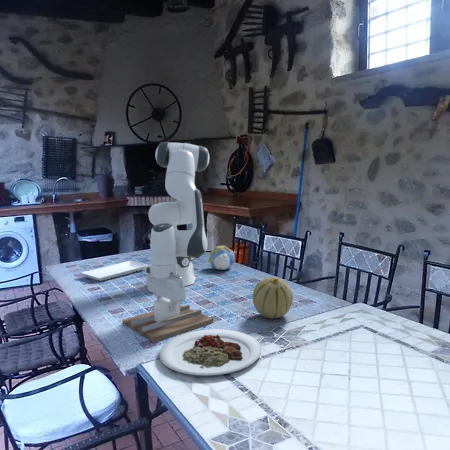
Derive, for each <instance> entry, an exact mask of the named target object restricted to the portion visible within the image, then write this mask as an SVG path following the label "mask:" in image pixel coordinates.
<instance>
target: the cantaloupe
mask: <svg viewBox="0 0 450 450" xmlns="http://www.w3.org/2000/svg"><path fill="white" fill-rule="evenodd" d="M293 297H294V296H293V292H292V289H291V287H290V286H289V284H288V283H287V282H286V281H285V280H284V279H282V278H280V277H278V276H277V277H276V276H271V277H265V278H263V279H262V280H260V281H259V282H257V284H256V285H255V287H254V289H253V292H252V303H253V307H254V308H255V310H256V312H257V313H258V314H260V315H261V316H262V317H265V318H268V319H279V318H281V317H284V316H286V314H287V313H289V311H290V310H291V307H292V305H293V299H294V298H293Z"/></svg>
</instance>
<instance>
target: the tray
mask: <svg viewBox="0 0 450 450" xmlns="http://www.w3.org/2000/svg"><path fill="white" fill-rule="evenodd" d="M148 266H149V264H146V263H141V262H137V261H133V260H129V261H122V262H120V263H119V262H118V263H114V264H110V265H107V266H102V267H98V268H95V269H94V268H93V269H91V270H86V271H81V272H80V273H81V275H83V277H84V276H85V277H86V278H89V279H91V278H92V279H91V280H94V279H96V280H95V281H98V280H99V281H98V282H104V281H103V280H105V281H108V280H112V279H115V278H114V277H116V278H119V277H123V276H127V275H130V274H129V273H131V274H134V273H133V272H135V273H137V272H136V271H138V272H141V271H142V270H145V268H146V267H148ZM140 270H141V271H140ZM126 274H127V275H126ZM122 275H123V276H122ZM118 276H119V277H118ZM111 278H112V279H111ZM107 279H108V280H107Z"/></svg>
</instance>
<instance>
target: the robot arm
mask: <svg viewBox="0 0 450 450" xmlns="http://www.w3.org/2000/svg"><path fill="white" fill-rule="evenodd" d="M154 156H155V160H156V164H157V165H158V166H159V167H162V168H163V169H164V168H165V169H166V173H165V179H164V180H165V181H164V182H165V186H164V187H165V190H166V192H167V194H168V195H169V196H170V197H172V199H174V200H175V201H167V202H166V201H165V202H158V203H156V204H151V206H150V207H149V210H148V219H149V222H150V223H151V224H152V228H151V230H150V231H151V232H150V253H151V256H152V259H151V265H148V267H146V268H145V269H144V270H145V274H146V285H147V286H146V287H147V289H148V291H149V292H151V293H152V294H155V298H156V301H157V300H161V299H165V298H167V299H170V302H171V306H169V310H170V311H172V312H173V311H175V310H176V304H177V303H178V302H180V303H182V302H184V301H185V300H186V298H187V294H186V286H190V285H194V283H195V281H196V280H197V277H196V276H195V272H194V265H193V263H192V262H191V261H192V260H191V257H192V258H194V259H199V258H200V257H202V256H203V255H205V254H206V253H207V251H208V238H207V233H206V222H205V212H204V211H205V210H204V209H205V208H204V201H203V196H202V193H201V191H200V189H199V188H197V186H196V184H195V183H196V182H195V178H196V172H203V171H205V170H206V169H207V167H208V165H209V164H210V158H211V157H210V153H209V150H208V148H207V147H205V146H203V145H196V144H191V143H187V142H184V143H182V142H169V141H161V142H160V143H158V146H157V148H156V149H155V155H154ZM190 224H192V225H191V226H192V228H191V229H189V230H187V229H186V230H185V229H184V230H181V229H180V230H179V229H178V226H180V225H181V226H182V225H190Z"/></svg>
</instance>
